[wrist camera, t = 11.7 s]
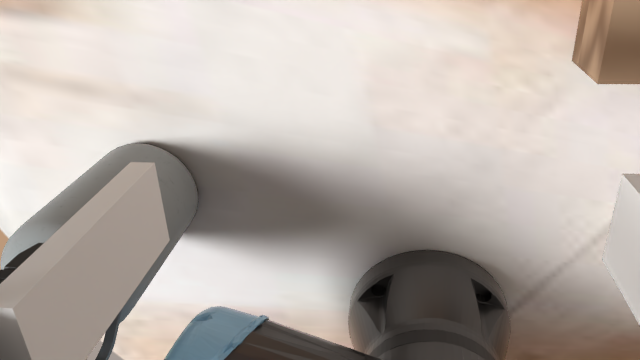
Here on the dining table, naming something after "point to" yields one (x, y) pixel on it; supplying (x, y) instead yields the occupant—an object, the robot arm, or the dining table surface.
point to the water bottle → (40, 227)
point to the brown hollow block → (609, 41)
